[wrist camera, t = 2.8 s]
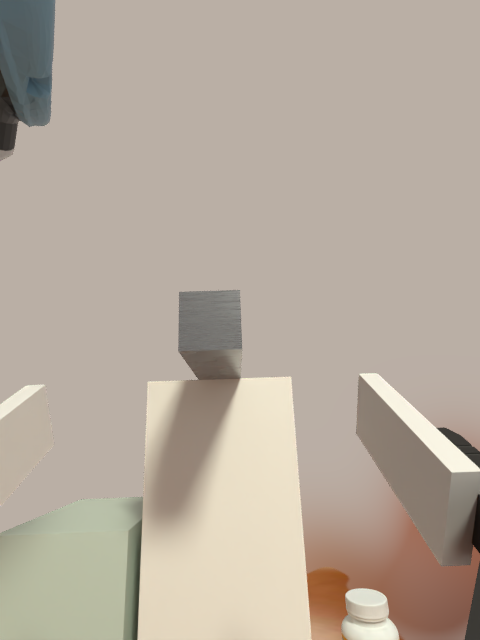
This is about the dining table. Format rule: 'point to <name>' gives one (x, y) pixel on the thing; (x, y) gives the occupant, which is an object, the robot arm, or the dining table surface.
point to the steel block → (211, 333)
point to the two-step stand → (176, 532)
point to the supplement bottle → (367, 617)
